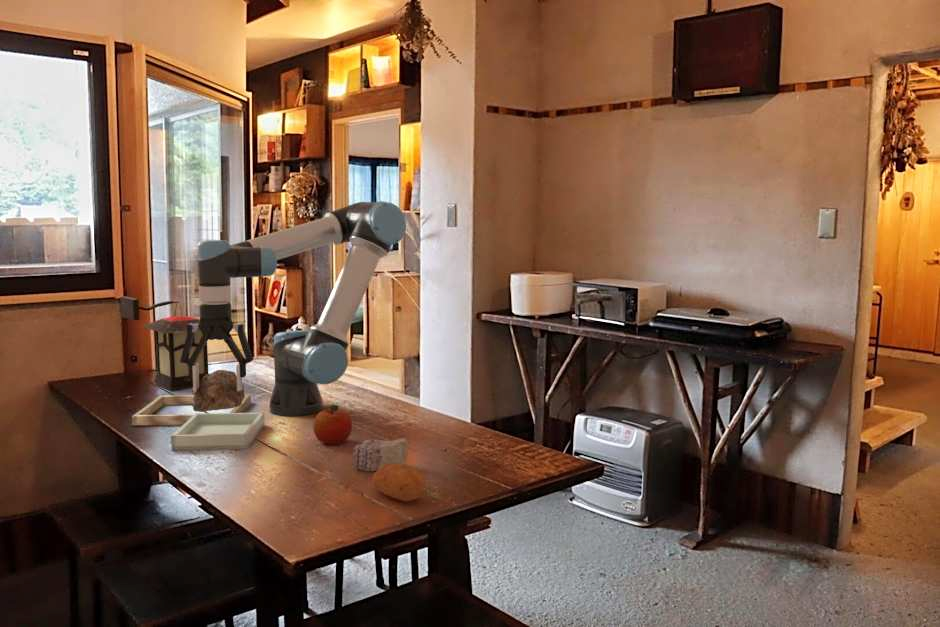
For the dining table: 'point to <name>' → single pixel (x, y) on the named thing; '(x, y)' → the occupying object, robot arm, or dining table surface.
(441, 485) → the dining table surface
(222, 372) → the rock
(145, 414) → the pine frame
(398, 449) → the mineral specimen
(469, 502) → the dining table surface
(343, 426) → the fruit
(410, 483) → the potato
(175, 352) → the lantern
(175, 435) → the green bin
